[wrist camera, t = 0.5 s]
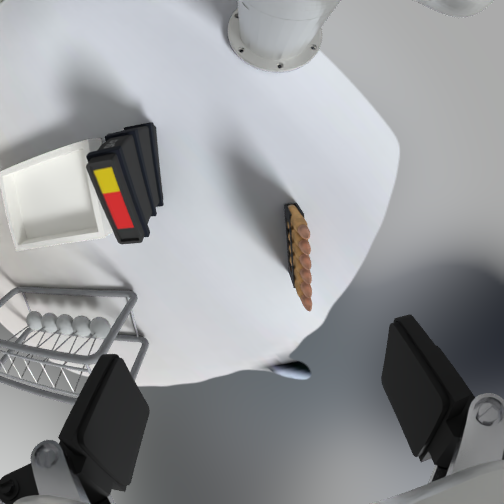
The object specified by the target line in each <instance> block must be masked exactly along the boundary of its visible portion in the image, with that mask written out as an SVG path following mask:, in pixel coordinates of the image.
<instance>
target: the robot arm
mask: <svg viewBox="0 0 504 504" xmlns="http://www.w3.org/2000/svg"><path fill="white" fill-rule="evenodd" d="M340 1H341V0H237V4H238V8H237V9H236V10H235V11H234V12H233V14H232V16H231V18H230V20H229V24H228V39H229V42H230V45H231V47H232V49H233V50H234V52H235V53H236V54H237V55H238V57H239V58H240V59H241V60H243V61H244V62H245V63H247V64H248V65H250V66H252V67H254V68H257V69H260V70H263V71H268V72H287V71H292V70H295V69H298V68H300V67H302V66H304V65H305V64H307V63H308V62H309V61H310V60H312V59H313V57H314V56H315V55H316V54H317V52H318V50H319V49H320V45H321V42H322V29H321V27H322V25H323V24H324V22H325V21H326V20H327V19H328V17H329V16H330V14H331V13H332V12H333V11H334V9H335V8H336V6H337V5H338V4H339V2H340ZM413 1H416V2H418V3H420V4H422V5H424V6H426V7H428V8H430V9H433V10H435V11H437V12H439V13H442V14H445V15H448V16H452V17H469V16H473V15H476V14H478V13H480V12H481V11H483V10H484V9H486V7H488V6H489V5H490V4H491V3H492V2H493V1H494V0H413ZM236 17H238V18H236ZM311 47H313V48H314V50H312V49H311ZM240 50H243V52H242V53H241V52H239V51H240ZM279 65H280V66H281V68H278V66H279ZM382 385H383V388H384V390H385V392H386V394H387V396H388V399H389V401H390V403H391V405H392V407H393V409H394V412H395V414H396V416H397V418H398V421H399V423H400V425H401V427H402V430H403V432H404V434H405V437H406V439H407V441H408V444H409V446H410V448H411V450H412V453H413V455H414V456H415V457H417V456H419V459H420V461H421V462H423V461H426V460H428V459H430V458H432V460H433V462H434V464H435V467H434V470H433V473H432V475H431V477H430V480H429V482H428V484H427V485H424V486H421V487H419V488H416V489H414V490H411V491H408V492H405V493H402V494H399V495H396V496H394V497H390V498H387V499H384V500H381V501H377V502H374V503H371V504H504V400H503V399H502V398H501V397H499V396H498V395H494V394H492V393H491V394H490V393H485V394H482V395H479V396H477V397H476V398H475V397H474V396H473V394H472V392H471V391H470V390H469V388H468V387H467V385H466V384H465V382H464V381H463V379H462V378H461V377H460V375H459V374H458V372H457V371H456V370H455V368H454V367H453V365H452V364H451V363H450V361H449V360H448V359H447V357H446V356H445V355H444V353H443V352H442V351H441V349H440V348H439V347H438V346H436V345H435V344H434V343H433V342H432V340H431V339H430V338H429V336H428V335H427V334H426V333H425V331H424V330H423V329H422V327H421V326H420V325H419V324H418V322H417V321H416V320H415V319H414V317H413V316H412V315H406V316H402V317H398V318H395V320H394V323H391V324H390V327H389V334H388V341H387V348H386V354H385V361H384V366H383V372H382ZM148 416H149V406H148V404H147V402H146V401H145V399H144V397H143V396H142V394H141V392H140V390H139V389H138V387H137V385H136V383H135V381H134V379H133V377H132V376H131V374H130V372H129V370H128V368H127V366H126V364H125V362H124V360H123V359H122V358H120V357H119V356H118V355H117V354H103V355H101V356H100V358H99V359H98V361H97V363H96V365H95V367H94V368H93V370H92V372H91V374H90V376H89V377H88V379H87V382H86V383H85V385H84V387H83V389H82V391H81V393H80V394H79V396H78V398H77V400H76V402H75V404H74V406H73V408H72V410H71V412H70V414H69V416H68V418H67V420H66V422H65V424H64V427H63V428H62V431H61V433H60V435H59V437H58V438H59V439H60V443H59V444H58V443H57V442H56V441H53V440H46V441H43V442H41V443H39V444H38V445H37V446H36V447H35V448H34V449H33V451H32V454H31V463H30V464H28V465H26V466H24V467H22V468H20V469H18V470H16V471H13V472H11V473H9V474H7V475H5V476H4V477H2V478H1V480H0V504H116V503H115V501H114V500H113V498H112V496H111V494H110V492H111V489H114V490H119V491H125V490H126V486H127V485H129V484H130V483H131V479H132V475H133V471H134V467H135V463H136V460H137V456H138V452H139V448H140V445H141V441H142V438H143V434H144V430H145V427H146V423H147V420H148Z"/></svg>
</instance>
